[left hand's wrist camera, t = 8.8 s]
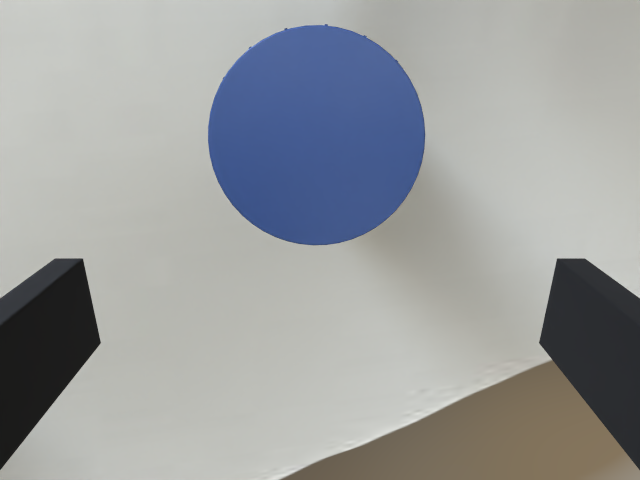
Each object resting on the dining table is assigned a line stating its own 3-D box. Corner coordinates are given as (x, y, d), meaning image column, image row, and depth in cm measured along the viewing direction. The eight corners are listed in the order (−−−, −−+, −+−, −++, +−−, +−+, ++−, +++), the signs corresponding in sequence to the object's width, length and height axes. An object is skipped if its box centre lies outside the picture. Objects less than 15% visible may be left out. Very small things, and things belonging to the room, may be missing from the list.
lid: (342, -22, 18) (345, -31, 16) (452, 162, 21) (465, 171, 19) (173, 112, 20) (160, 116, 18) (296, 265, 22) (294, 282, 21)
